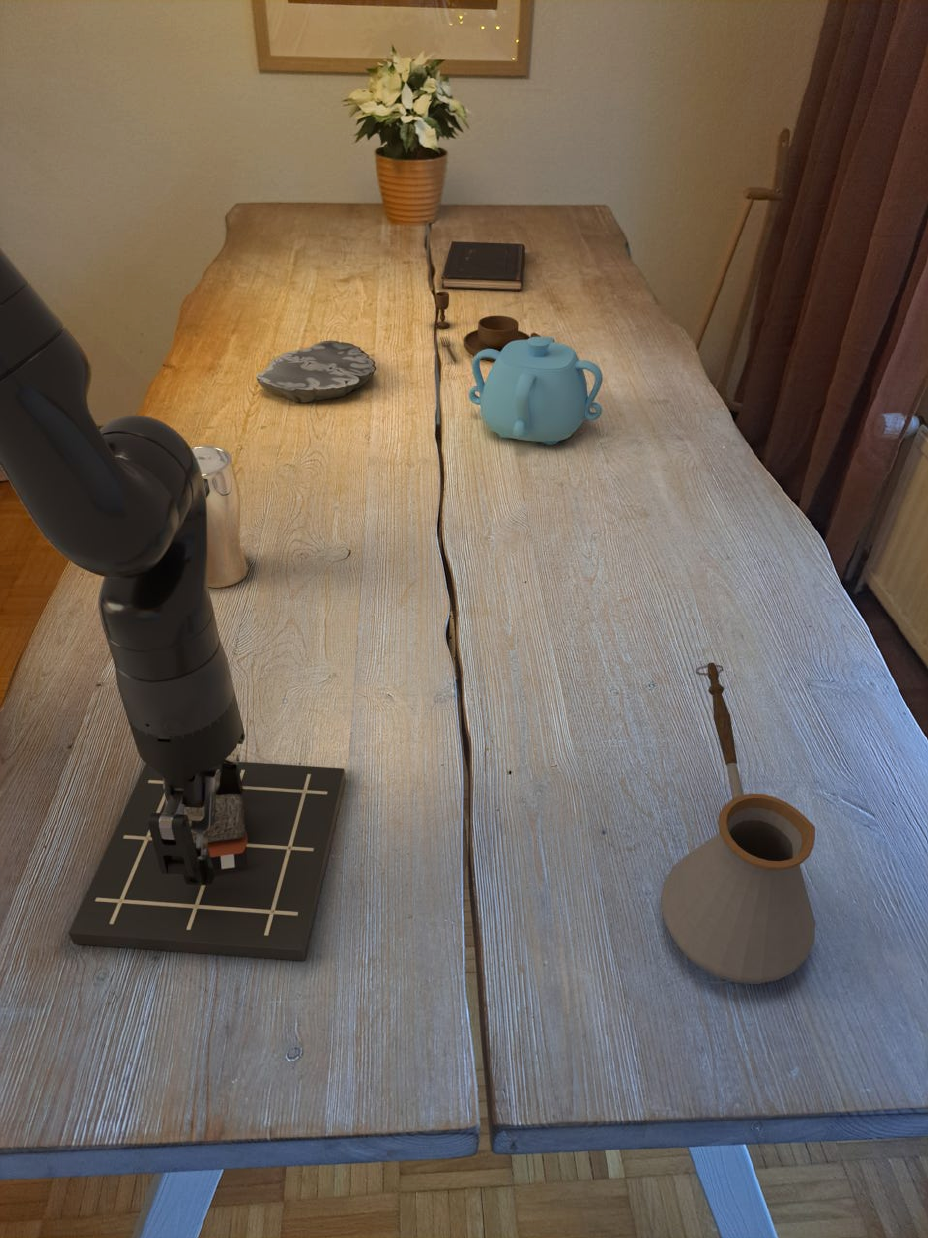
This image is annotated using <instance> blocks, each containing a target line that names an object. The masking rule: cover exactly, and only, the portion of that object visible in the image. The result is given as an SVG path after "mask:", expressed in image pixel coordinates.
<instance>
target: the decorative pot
mask: <svg viewBox="0 0 928 1238" xmlns="http://www.w3.org/2000/svg"><path fill="white" fill-rule="evenodd" d="M485 357H489V358H493V359H496V361H493V362H494V363H493V365H492V366H491V368H490V370H489V372H488V373H487V376H486V379H485V380H484V377H483V374H482V371H481V363H480V362H481V360H483V359H482V358H485ZM584 370H585V371H586V370H587V371H588V372H590V373H592V374H593V376H594V383H593V386H592V389H591V390H590V392H589V394H588V384H587V380H586V379H587V378H586V374H585V372H584ZM471 371H472V375H473V378H474V382H475V385H474V386H472V387H471V388H470V389H469V392H468V399H469V400H470V403H472V404H475V406H480V407H479V409H480V410H479V412H480V415H481V418H482V420H483V422H484V424H485V425H486V426H487V427H488V429H489V430H491V431H492V432H493V433H495V434H497V435H498V437H499V438H502V439H508V440H509V439H515V440H518V441H519V440H520V441H525V442H526V441H527V442H536V443H537V442H539V443H542V444H544V445H549V446H550V445H551V446H552V445H556V444H558V443H559V441H560V442H561V441H563V440H567V439H569V438H570V437H571V436H572V435H573V434H574V433H575V432H576V431H577V430H578V429H579V427H580V426H581V425H582V423H583V422H584V420H587V421H596V420H598V419H600V417H601V416H602V414H603V409H602V406H601V405H600V403H598V402H594V401H595V400H596V398H597V396H598V395H599V392H600V390H601V387H602V384H603V380H604V378H603V373H602V369H601V368H600V367H599V366H598V365H597V364H595V363H594V362H593V361H590V360H587V359H586V360H583V359H582V360H580V358H579V356H578V354H577V352H576V350H575V349H574V348H572V347H571V346H569V345H566V344H563V343H559V342H555V339H554V337H550V336H541V337H531V338H529V339H527V340H516V341H512V342H510V343H508V344H507V345H506V346H505V347H504V348H503V349H502V351H501V352H499V351H497V350H494V349H485V350H482V351H480V352H479V353H477V354H476V355H475V356H473V358H472V362H471ZM476 392H478V394H479V396H478V395H477V394H476ZM591 409H594V410H595V412H592V411H591Z"/></svg>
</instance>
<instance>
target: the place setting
mask: <svg viewBox="0 0 928 1238" xmlns="http://www.w3.org/2000/svg"><path fill="white" fill-rule="evenodd" d="M449 305H450V293H449V292H447V291H437V292H436V293H435V306H436V308H437V309H438V310H439V320H440V321H438V322H436V323H434V327H435V328H436V329H439V330H446V329H449V328H450V327H451V324H450V323H449V322H446V321H445V320H446V315H445V312H446V310H447V309H448V308H449ZM477 323H478V324H477V329H475V330H473V331H470V332H468V333H466V334H465V336H464V337H463V341H462V342H463V346H464V349H465V350H466V351H467V352H468V354H470V355H472V356H473V357H475V355H476V354H477V353H479V352H480V351H482V350H485V349H494V350H497V351H499V352H501V351H502V349H503V348H504V347H505V346H506V345H507V344H508V343H510V342H512V341H516V340H527V339H529V338H531V337H542V336H541V335H540V334H538V333H536V332H531V334H530V335H529V334H527V333H526V332H523V331H521V330H519V326H520V325H519V320H517V319H515V318H513V317H511V316H506V315H489V316H485V317H482V318H480V319H479V320H478V322H477ZM439 339H440V342H441V346H442V347H443V348H446V349H447V351H448V354H449V356H450V357H451V359H452V361H453V362H454V363H457V359H456V357H455V355H454V353H453V351H452V349H451V347H450V346H451V343H450V341H449V338H448V336H442V337H441V336H439ZM481 360H484V361H488V362H495V361H496V359H493V358H489V357H485V358H482V359H481Z"/></svg>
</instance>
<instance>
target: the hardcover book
mask: <svg viewBox="0 0 928 1238" xmlns="http://www.w3.org/2000/svg"><path fill="white" fill-rule="evenodd" d="M525 252H526V246H525V244H524V243H513V242H512V243H511V242H489V241H488V242H485V241H484V242H483V241H460V240H459V241H458V240H452V241H451V242H450V247H449V249H448V253H447V257H446V259H445V260H446V261H445V264H444V268H443V271H442V275H441V279H442V285H441V289H442V290H443V289H444V290H445V289H446V290H448V289H449V290H472V291H496V292H498V291H499V292H520V291H522V289H523V279H524V266H525Z"/></svg>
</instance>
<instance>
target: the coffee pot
mask: <svg viewBox="0 0 928 1238" xmlns="http://www.w3.org/2000/svg"><path fill="white" fill-rule="evenodd" d="M715 663H716V662H708V663H707V664H704V665H701V666H698V667H697V668H695V674H696V675H699V676H704V677H705V676H706V677H707V678H708V680H709V683H710V686H709V687H708V693H709V694H710V695H711V696H712V709H713V721H714V725H715V729H716V733H717V737H718V741H719V744H720V745H719V746H720V748H721V753H722V755H723V756H722V757H723V760H724V764H725V766H726V770H727V775H728V781H729V788H730V793H731V799H730V800H729V801H727V803H725V805H723V807H722V809H721V811H720V812H719V814H718V821H717V823H718V830H719V832H718V833H717V834H715V835H714V836H712V837H711V838H710V839H707V841H705V842H704V843H702V844H701V845H699V846H698V847H697V848H695V849H693V850H692V851H690V853H688V854H686V855H685V856H684V857H683V858H682V859H680V860H679V861H678V862H677V863H676V864H674V865H673V866H672V867H671V869H670V871H669V873H668V874H667V876H666V878H665V879H664V882H663V885H662V890H661V896H660V901H661V909H662V910H661V911H662V917H663V920H664V922H665V925H666V927H667V930H668V933H669V934H670V936H671V938H672V940H673V941H674V942H675V944H676V945H677V947H678V948H679V949H680V951H681V952H682V953H683V955H684V956H685V957H686V958H688V959H689V960H690V961H691V962H693V963H694V964H695V965H696V966H697V967H698V968H700V969H702V970H703V971H705V972H707V973H709V974H710V975H712V976H714V977H715V978H718V979H723V980H726V981H728V982H731V983H735V984H745V985H747V984H748V985H760V984H765V983H770V982H775V981H779V980H781V979H783V978H784V977H786V976H788V975H790V974H792V973H794V972H795V971H796V970H798V969H799V968H800V966H801V965H802V964H803V963H804V962H805V961H806V960H807V959H808V958H809V955H810V953H811V951H812V948H813V946H814V943H815V937H816V935H815V934H816V920H815V916H814V912H813V909H812V905H811V901H810V896H809V893H808V891H807V887H806V882H805V879H804V875H803V872H802V868H801V865H802V864H803V863H804V862H806V860H807V859H808V858H810V856H811V853H812V851H813V849H814V844H815V841H816V840H815V839H816V826H815V825H814V824H813V823H812V822H811V821H810V820H809V819H808V818H807V817H806V815H804V814H803V813H802V812H801V811H800V810H798V808H796V807H794V806H793V805H791V804H790V803H789V802H787V801H784V800H782V799H781V798H778V797H777V796H772V795H769V794H764V793H747V794H745V793H744V790H743V785H742V782H741V777H740V773H739V769H738V765H737V764H738V758H737V752H736V746H735V739H734V732H733V725H732V719H731V714H730V712H729V709H728V707H727V704H726V701H725V697H724V696H723V693H724V692H725V687H724V686H723V685H722V684H721V683H720V679H719V677H720V674H721V673H723V672H724V666H723V665H721V664H715ZM705 668H706V669H707V673H706V672H700V671H699V670H702V669H705ZM718 668H720V669H719V670H718Z"/></svg>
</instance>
